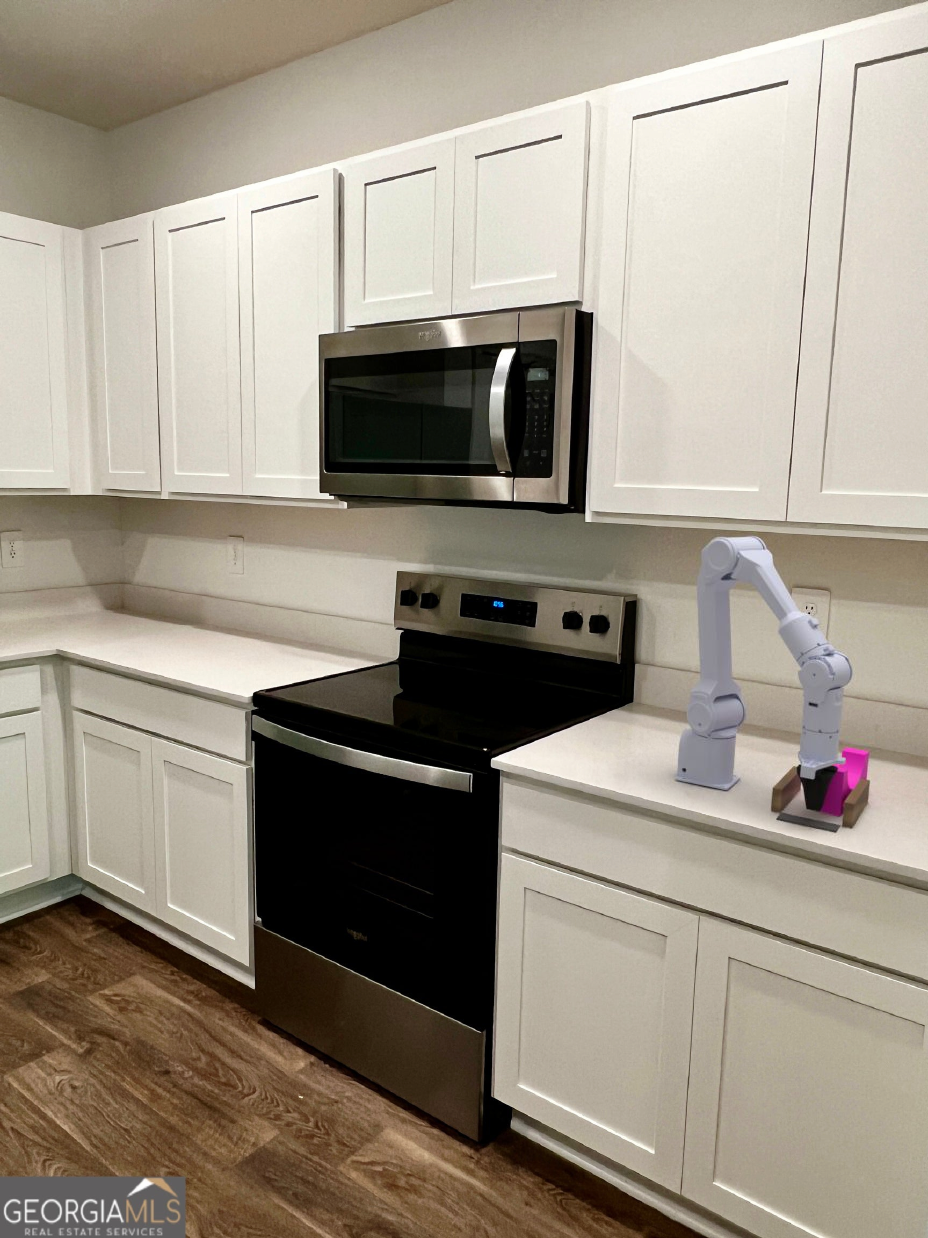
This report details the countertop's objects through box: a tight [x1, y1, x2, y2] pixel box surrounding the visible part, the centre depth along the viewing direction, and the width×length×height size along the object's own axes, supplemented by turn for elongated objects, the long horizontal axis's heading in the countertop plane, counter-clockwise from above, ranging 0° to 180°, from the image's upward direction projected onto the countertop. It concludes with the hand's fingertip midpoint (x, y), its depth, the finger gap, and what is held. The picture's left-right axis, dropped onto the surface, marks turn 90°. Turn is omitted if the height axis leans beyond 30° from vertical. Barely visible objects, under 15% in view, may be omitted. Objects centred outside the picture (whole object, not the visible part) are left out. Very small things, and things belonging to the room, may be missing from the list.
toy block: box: [819, 746, 870, 818], centre depth 154 cm, size 15×6×8 cm, turn 142°
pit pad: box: [776, 811, 841, 833], centre depth 143 cm, size 9×3×1 cm, turn 57°
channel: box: [770, 765, 871, 829], centre depth 150 cm, size 12×14×4 cm
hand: (813, 809), depth 146 cm, fingers closed
